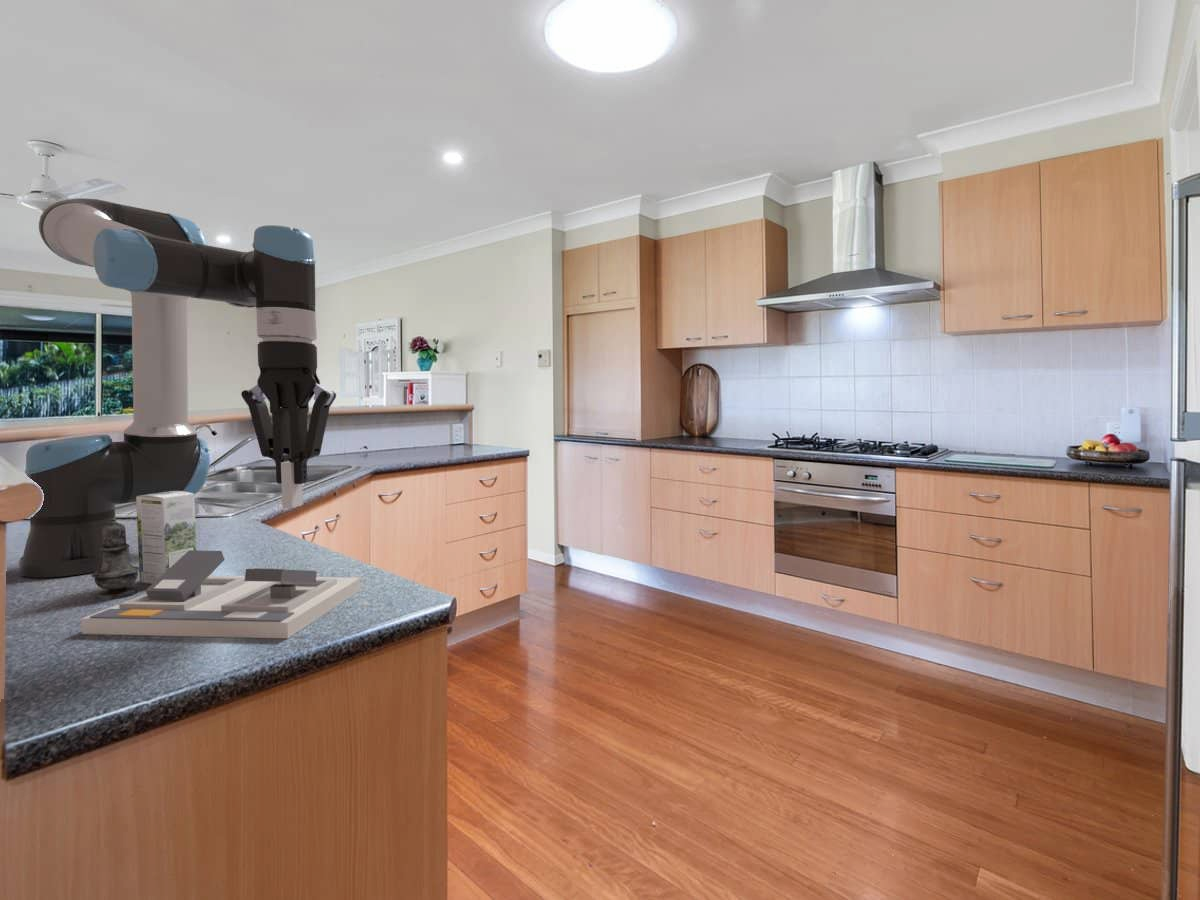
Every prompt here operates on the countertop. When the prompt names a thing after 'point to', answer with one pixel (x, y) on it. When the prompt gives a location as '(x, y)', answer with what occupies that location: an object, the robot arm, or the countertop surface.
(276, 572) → the switch
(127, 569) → the grey tiered stone piece
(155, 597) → the switch
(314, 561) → the countertop surface
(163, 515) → the syrup box
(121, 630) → the switch panel
